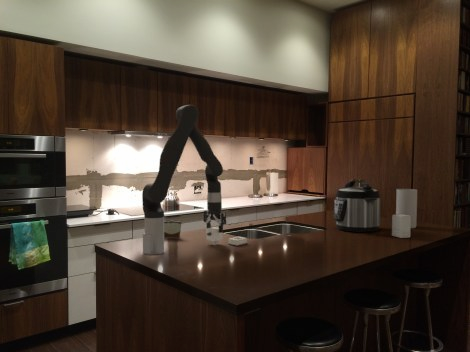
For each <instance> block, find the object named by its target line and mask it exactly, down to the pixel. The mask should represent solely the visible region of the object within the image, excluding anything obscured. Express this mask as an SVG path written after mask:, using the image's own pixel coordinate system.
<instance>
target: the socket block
mask: <svg viewBox="0 0 470 352" xmlns="http://www.w3.org/2000/svg"><path fill="white" fill-rule="evenodd" d="M247 238H248V237H243V236H234V237H229V238H228V245H229V244H230V246H234V245H235V247H238V246H239V247H240V246H242V245H246V243H247V244H248V239H247Z"/></svg>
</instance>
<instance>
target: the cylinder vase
mask: <svg viewBox="0 0 470 352" xmlns="http://www.w3.org/2000/svg"><path fill="white" fill-rule="evenodd" d="M395 197H396V201H395V202H396V206H395V207H396V208H395V215H397V214H403V215H409V216H411V228H410V229H415V228H417V214H418V213H417V212H418V211H417V209H418V189H414V188H412V189H411V188H396V196H395Z"/></svg>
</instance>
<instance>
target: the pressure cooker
mask: <svg viewBox="0 0 470 352" xmlns="http://www.w3.org/2000/svg"><path fill="white" fill-rule="evenodd" d="M356 183H359V184H360V185H361V186H354V185H355V184H356ZM335 195H336V196H335V198H334V204H333V218H334V220H335V224H336V225H335V226H336V227H337V228H338V229H339V230H342V231H347V232H353V233H365V232H367V233H368V232H376V231H378V230H379V227H380V226H381V194H380V191H379V190H377V189H374V188H373V187H372V185H371V184H369V183H367V182H365V181H364V180H360V179H354V180H353V179H352V180H351V181H348V182H346V183H345V185H344V187H343V188H339V189H337V193H336V194H335Z"/></svg>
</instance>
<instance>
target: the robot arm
mask: <svg viewBox="0 0 470 352" xmlns="http://www.w3.org/2000/svg"><path fill="white" fill-rule="evenodd" d="M199 115H200V114H199V109H198V107H197V106H196V105H194V104H185V105H183V106H180V107H178V108H177V110H176V112H175V118H176V120H177V121H178V124H177V126H176V128H175V130H174V131H173V133H172V134H171V135H170V137H169V138H168V139H167V141H166V143H165V144H164V146H163V149H162V150H161V154H160V158H159V166H158V173H157V175H156V177H155V180H154V182H151V183H150V182H149V183H147V184H145V186H144V187H143V189H142V193H141V194H142V195H141V196H142V197H141V199H142V211H143V214H144V215H143V216H144V218H143V219H144V232H143V233H142V253H143V254H145V255H147V256H148V255H149V256H152V255H153V256H154V255H161V254H164V253H165V238H164V220H165V212H164V209H163V208H162V202H164V201H165V199H167V198H166V197H167V195H168V192H169V188H170V186H171V181H172V179H173V177H174V174H175V171H176V169H177V166H178V164H179V162H180V160H181V157H182V154H183V153H184V150H185V147H186V144H187V143H188V142H187V141H188V140H189V139H190V140H191V142H192V144H193V146H194V147H195V149H196V152H197V153H198V155H199V157H200V160H201V161H202V162H203V163H205V164H206V166H205V169H204V170H205V171H204V174H205V179H206V183H207V195H206V196H207V198H206V199H207V200H206V201H207V203H206V205H207V208H206V209H207V210H204V211H203V223H205V224H206V228H211V227H212V225H211V224H212V221H214V222H216V223H217V224H218V228H219V233H222V234H223V232H224V225H227V214H226V212H222V208H223V207H222V206H223V205H222V204H223V203H222V202H223V201H222V184H221V182H220V180H219V178H218V177H221V175H222V174H223V172H224V168H223V165H222V163H221V161H220V160H219V158H217V156H216V155H215V154H214V151H213V150H212V148H211V147H212V146H211V145H210V143H209V142H208V140H207V139H206V138H205V136H203V134H202V133H201V132H200V131H199V129H198V127H197V126H196V123H197V121H198V119H199Z"/></svg>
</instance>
